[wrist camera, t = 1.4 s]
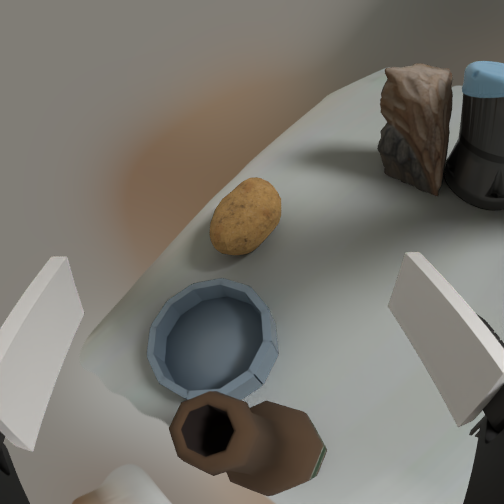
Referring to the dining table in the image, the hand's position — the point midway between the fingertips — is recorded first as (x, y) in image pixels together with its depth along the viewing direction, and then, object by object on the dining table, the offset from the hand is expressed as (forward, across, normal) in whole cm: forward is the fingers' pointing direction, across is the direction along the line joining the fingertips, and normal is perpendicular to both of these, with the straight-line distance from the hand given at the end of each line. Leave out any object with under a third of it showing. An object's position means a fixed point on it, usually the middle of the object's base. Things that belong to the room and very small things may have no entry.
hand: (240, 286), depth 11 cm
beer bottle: (+4, +6, -26) cm, 27 cm away
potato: (+35, +4, -16) cm, 39 cm away
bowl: (+19, -2, -23) cm, 30 cm away
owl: (+38, +35, -4) cm, 52 cm away
